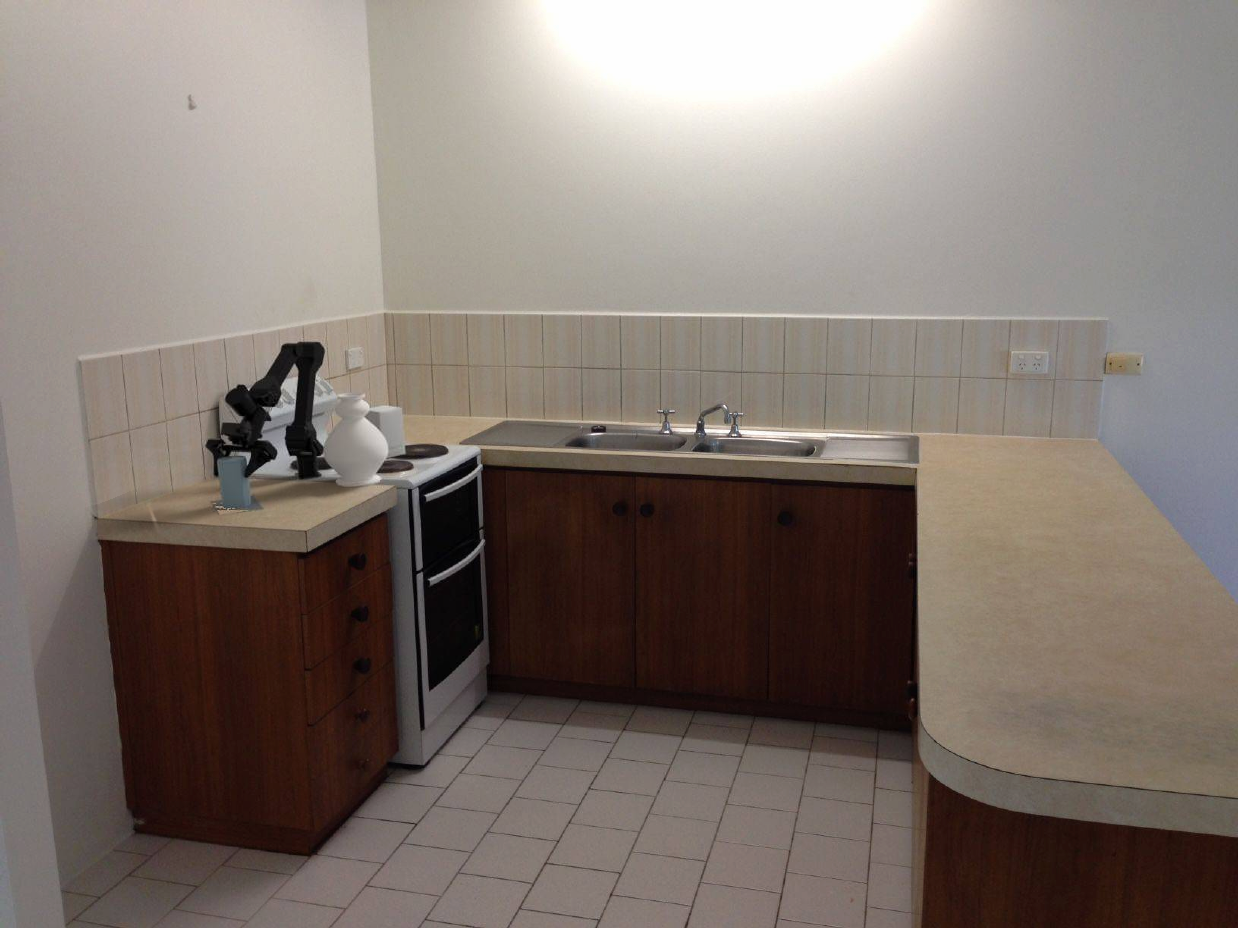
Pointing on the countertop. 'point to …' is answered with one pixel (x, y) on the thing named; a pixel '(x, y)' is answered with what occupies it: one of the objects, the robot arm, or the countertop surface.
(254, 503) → the mat
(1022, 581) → the countertop surface
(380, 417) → the supplement box
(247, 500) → the tumbler
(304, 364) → the robot arm
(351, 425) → the decorative vase
